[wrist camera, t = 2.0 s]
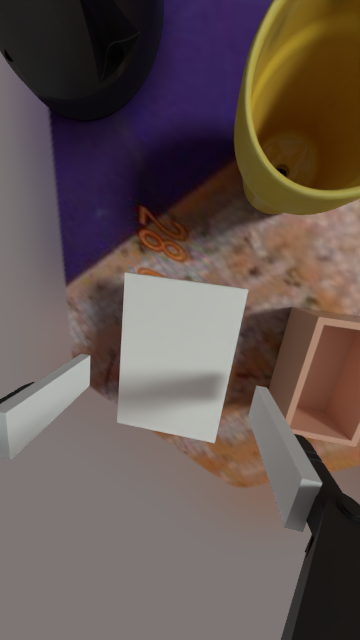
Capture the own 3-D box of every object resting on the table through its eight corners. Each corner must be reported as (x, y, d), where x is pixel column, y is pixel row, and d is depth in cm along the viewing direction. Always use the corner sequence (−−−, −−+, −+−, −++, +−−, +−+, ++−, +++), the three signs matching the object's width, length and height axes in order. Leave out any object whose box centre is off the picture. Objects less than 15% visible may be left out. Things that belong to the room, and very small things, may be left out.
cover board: (131, 272, 17) (124, 272, 15) (244, 288, 16) (248, 289, 14) (123, 411, 21) (117, 422, 19) (213, 430, 20) (214, 443, 18)
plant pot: (283, 256, 19) (358, 239, 10) (202, 198, 19) (200, 124, 10) (364, 155, 17) (571, 0, 7) (271, 85, 16) (362, -173, 7)
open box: (291, 306, 20) (318, 316, 16) (359, 316, 20) (409, 330, 15) (265, 399, 23) (281, 432, 19) (323, 410, 23) (355, 447, 18)
